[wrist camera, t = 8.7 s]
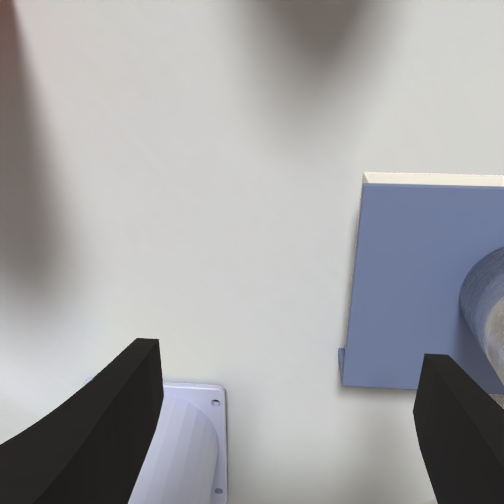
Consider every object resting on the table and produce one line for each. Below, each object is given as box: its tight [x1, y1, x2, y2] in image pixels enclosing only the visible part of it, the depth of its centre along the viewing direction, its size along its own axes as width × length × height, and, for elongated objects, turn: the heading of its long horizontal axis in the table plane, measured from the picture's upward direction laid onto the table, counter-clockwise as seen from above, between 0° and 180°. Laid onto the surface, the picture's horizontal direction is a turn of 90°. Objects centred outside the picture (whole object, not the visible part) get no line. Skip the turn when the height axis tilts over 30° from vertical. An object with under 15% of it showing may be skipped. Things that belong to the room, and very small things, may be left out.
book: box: [338, 172, 504, 394], centre depth 22 cm, size 10×14×3 cm
